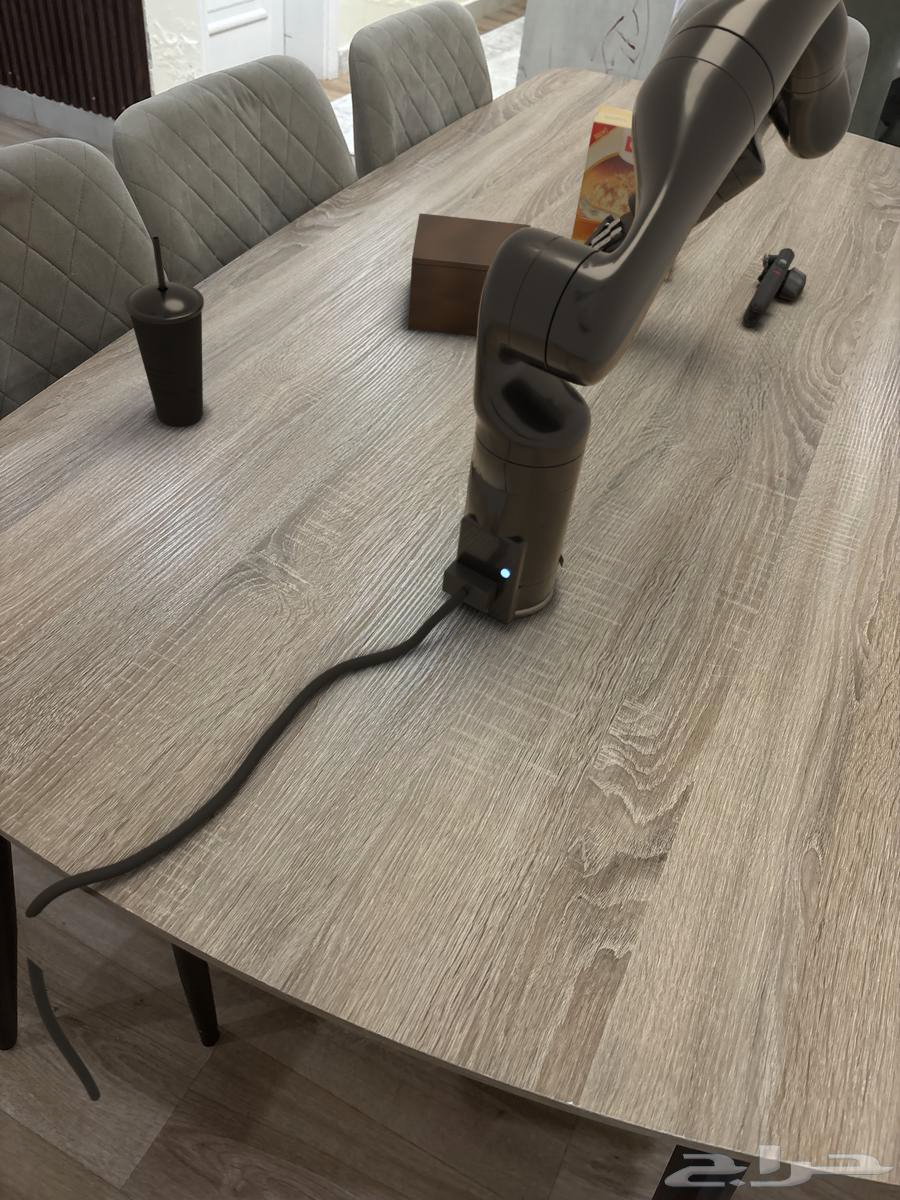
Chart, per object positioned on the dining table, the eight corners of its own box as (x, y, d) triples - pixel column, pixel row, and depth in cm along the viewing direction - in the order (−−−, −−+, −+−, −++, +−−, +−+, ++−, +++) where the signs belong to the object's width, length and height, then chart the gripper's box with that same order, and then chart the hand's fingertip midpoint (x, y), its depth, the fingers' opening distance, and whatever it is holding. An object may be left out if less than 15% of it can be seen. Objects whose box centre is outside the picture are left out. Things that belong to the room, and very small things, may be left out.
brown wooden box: (520, 293, 129) (530, 224, 123) (521, 340, 121) (532, 269, 114) (414, 282, 129) (419, 212, 122) (407, 328, 120) (412, 257, 113)
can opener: (761, 273, 140) (774, 237, 136) (807, 288, 138) (821, 251, 134) (721, 320, 129) (733, 281, 125) (770, 337, 127) (784, 298, 123)
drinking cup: (146, 438, 100) (114, 258, 86) (142, 397, 105) (112, 221, 91) (219, 431, 102) (200, 255, 87) (212, 392, 107) (193, 219, 92)
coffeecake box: (566, 261, 137) (592, 120, 123) (573, 241, 142) (599, 103, 128) (667, 281, 136) (705, 140, 122) (671, 260, 141) (708, 122, 127)
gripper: (654, 155, 116) (540, 241, 124) (666, 199, 107) (542, 288, 115) (685, 203, 120) (573, 282, 128) (699, 249, 111) (577, 332, 119)
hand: (558, 285), depth 122 cm, fingers closed
